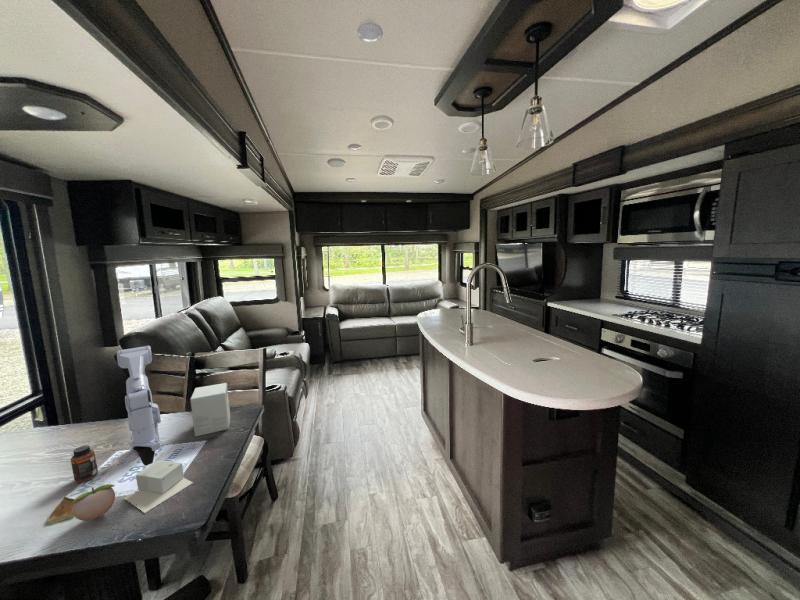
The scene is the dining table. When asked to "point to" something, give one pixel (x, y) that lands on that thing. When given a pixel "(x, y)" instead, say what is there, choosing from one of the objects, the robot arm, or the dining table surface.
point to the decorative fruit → (94, 503)
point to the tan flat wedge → (62, 511)
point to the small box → (159, 476)
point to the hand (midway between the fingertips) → (148, 463)
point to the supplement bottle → (84, 464)
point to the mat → (155, 496)
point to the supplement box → (210, 409)
